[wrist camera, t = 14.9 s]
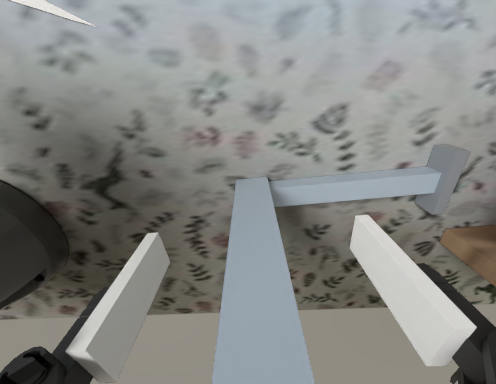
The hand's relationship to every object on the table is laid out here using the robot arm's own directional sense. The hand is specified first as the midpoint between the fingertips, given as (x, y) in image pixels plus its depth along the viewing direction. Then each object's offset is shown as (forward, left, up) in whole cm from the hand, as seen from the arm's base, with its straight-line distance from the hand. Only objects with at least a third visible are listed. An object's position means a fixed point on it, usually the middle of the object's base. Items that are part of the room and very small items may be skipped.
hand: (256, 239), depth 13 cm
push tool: (+8, 0, -7) cm, 11 cm away
